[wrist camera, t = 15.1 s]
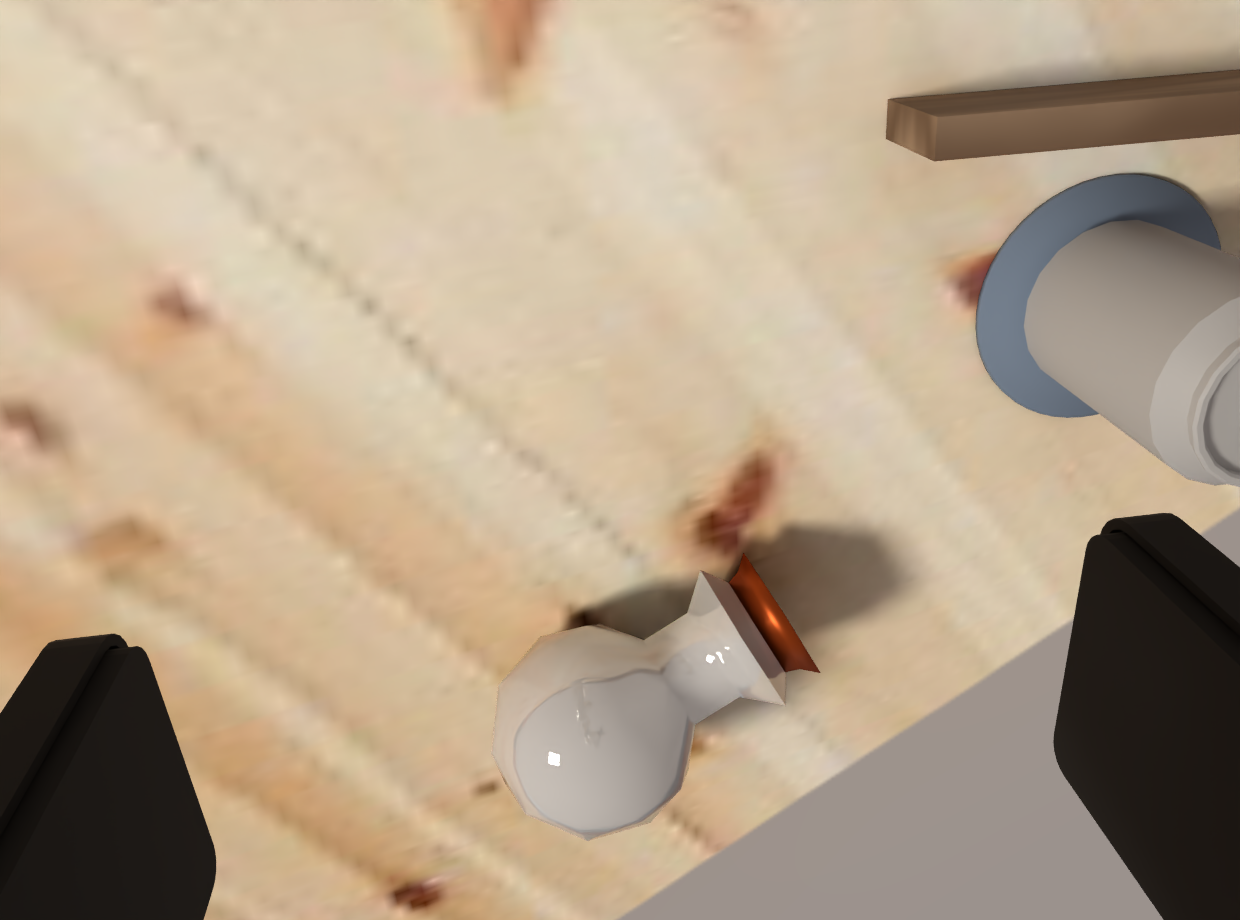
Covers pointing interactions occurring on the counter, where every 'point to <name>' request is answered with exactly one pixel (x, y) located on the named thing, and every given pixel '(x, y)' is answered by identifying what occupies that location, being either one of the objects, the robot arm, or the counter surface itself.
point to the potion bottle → (635, 705)
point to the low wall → (1067, 116)
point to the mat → (1036, 248)
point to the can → (1147, 341)
